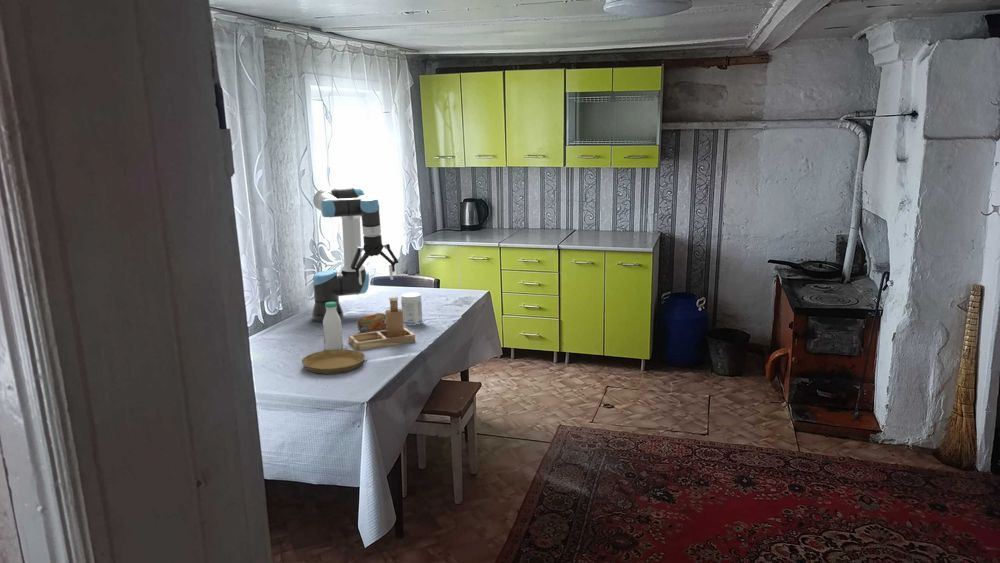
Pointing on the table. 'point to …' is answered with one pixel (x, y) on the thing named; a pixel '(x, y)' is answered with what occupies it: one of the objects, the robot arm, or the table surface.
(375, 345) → the divided wooden tray
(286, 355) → the table surface
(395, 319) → the brown bottle
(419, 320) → the supplement tub
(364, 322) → the tin
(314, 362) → the plant saucer
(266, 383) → the table surface
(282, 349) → the table surface
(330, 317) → the milk bottle
